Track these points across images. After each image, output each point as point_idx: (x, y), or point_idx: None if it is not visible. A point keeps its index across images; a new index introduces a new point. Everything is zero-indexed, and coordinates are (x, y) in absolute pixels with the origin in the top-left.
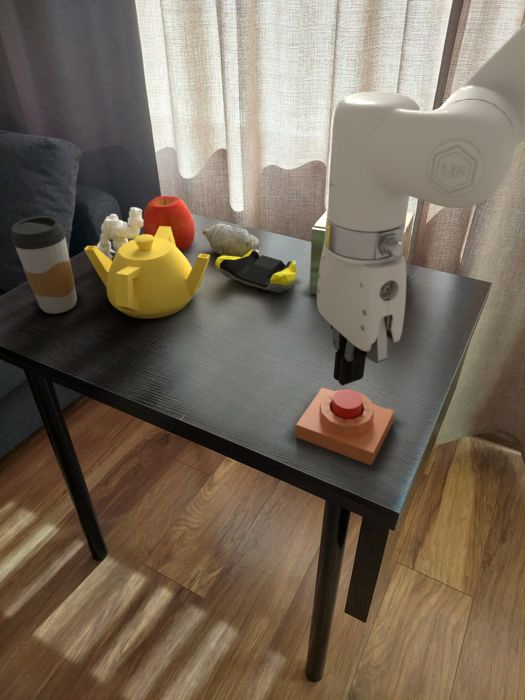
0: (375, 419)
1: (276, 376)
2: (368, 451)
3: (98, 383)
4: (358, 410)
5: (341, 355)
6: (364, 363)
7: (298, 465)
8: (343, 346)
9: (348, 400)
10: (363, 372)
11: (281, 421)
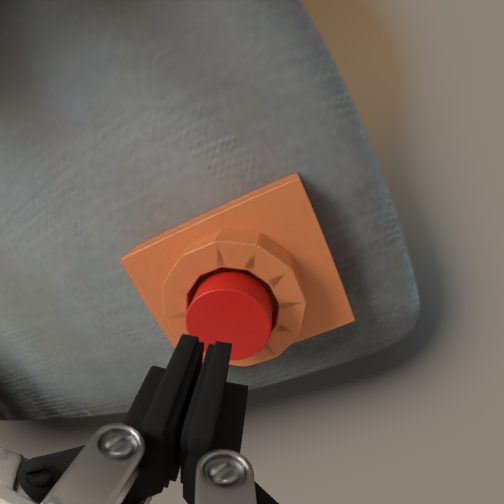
0: (289, 243)
1: (47, 268)
2: (344, 324)
3: (20, 418)
4: (271, 318)
5: (174, 479)
6: (221, 389)
7: (256, 384)
8: (153, 494)
9: (233, 330)
10: (229, 357)
11: (152, 343)
